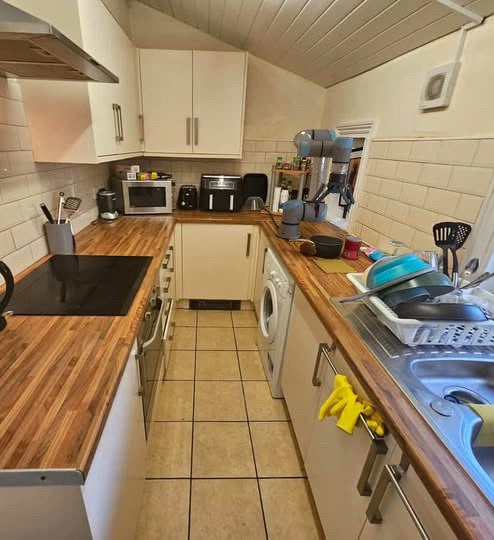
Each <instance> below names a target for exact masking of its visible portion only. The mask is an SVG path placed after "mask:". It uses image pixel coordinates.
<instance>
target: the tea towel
mask: <svg viewBox="0 0 494 540" xmlns="http://www.w3.org/2000/svg"><path fill="white" fill-rule="evenodd" d="M312 261H313V263H314V264H315V265H317V266H318V267H319V269H321V271H323V272H324V273H325V274H331V273H332V274H335V273H337V274H339V273H343V274H344V273H345V274H347V273H358V270H356V269H355V268H353V267H352V266H350V265H349V264H348V263H347V262H346V261H344V260H343V259H312Z"/></svg>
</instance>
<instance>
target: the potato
mask: <svg viewBox="0 0 494 540" xmlns="http://www.w3.org/2000/svg"><path fill="white" fill-rule="evenodd" d="M299 250H300V252H301V254H303V255H305V256H310V257H311V256H315V255H316V254H317V249H316V248H315V247H314V246H313V244H311V243H310V242H303V243H301V244H300V245H299Z"/></svg>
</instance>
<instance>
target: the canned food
mask: <svg viewBox="0 0 494 540" xmlns="http://www.w3.org/2000/svg"><path fill="white" fill-rule="evenodd" d="M344 240H345V241H344V245H343V250H342V254H341V255H342V258H344V259H345V260H351V261H355V260H357V259H358V258H359V255H360V251H361V247H362V242H363V238H361V237H359V236H356V235H355V236H354V235H347V236H346V237H345V239H344Z"/></svg>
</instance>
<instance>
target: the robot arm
mask: <svg viewBox="0 0 494 540" xmlns="http://www.w3.org/2000/svg"><path fill="white" fill-rule="evenodd" d="M336 133H337V132H336V131H335V130H333V129H317V128H316V129H313V128H312V129H311V128H309V129H304V130H300V131H299V132H297V134H295V136H294V138H293V146H294V148H295V149H297V156H298V157H299V158H313V160H312V169H311V176H310V184H309V192H308V197H307V198H306V199H305V202H303V200H302V199H290V200H286V201H284V202H283V205H282V208H281V209H282V212H281V219H280V220H281V221H280V224H279V225H278V224H277V223H276V221H275V220H274V219H275V218H274V217H273V215H272V213H271V212H270V211H269V210H268V209H266V207H264V206H262V207H261V209H264V210H265V211H266V212H267V213H269V215H270V216H271V220H272V222H273V223H274V225H275V226H276V227H277V228H278V229H277V231H276V237H278V238H280V239H285V240H299V239H300V238H301V236H302V234H301V233H302V232H301V228H300V224H301V223H300V222H306V223H322V222H323V221H324V220H325V219H326V216H327V213H328V204H327V203H326V200H325V198H326V197H327V196H328V195H330V194H332V195H333V194H337V195H339V194H340V196H341V198H342V199H343V200H344V202H345V204H344V207H343V212H342V215H341V216H342V217H341V218H342V219H344V220H346V219H347V215H348V213H349V212H350V209H351V206H352V205H355V204H356V200H355V198H354V194H353V191H352V186H353V185H352V184H350V183H346V180H347V177H348V176H347V175H348V174H347V173H348V170H349V166H350V160H351V155H352V150H353V146H354V137H352V136H337V134H336ZM329 159H331V164H330V170H329V172H330V173H329V176H328V181H327V183H326V180H327V173H328V165H329ZM326 188H327V189H326ZM325 189H326V190H325ZM344 189H346V193H347V195H348V197H347V195H346V193H345V192H344ZM263 207H264V208H263Z"/></svg>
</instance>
